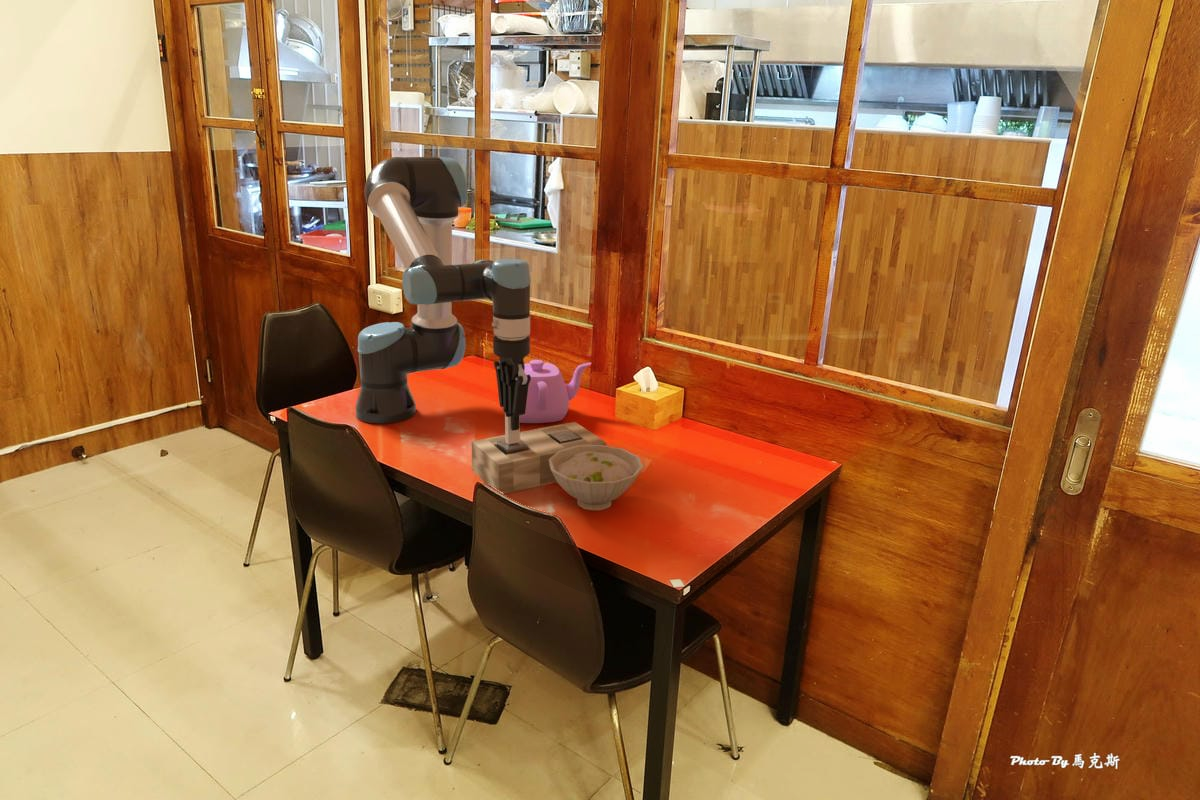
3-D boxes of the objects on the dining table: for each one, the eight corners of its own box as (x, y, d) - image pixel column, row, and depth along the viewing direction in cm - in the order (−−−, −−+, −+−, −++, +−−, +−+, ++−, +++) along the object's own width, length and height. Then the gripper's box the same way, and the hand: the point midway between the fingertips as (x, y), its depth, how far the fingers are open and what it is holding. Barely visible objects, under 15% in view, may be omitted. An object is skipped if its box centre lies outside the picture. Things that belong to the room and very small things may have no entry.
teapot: (511, 435, 197) (510, 377, 192) (501, 406, 216) (500, 352, 211) (600, 430, 202) (602, 373, 197) (583, 402, 221) (584, 349, 216)
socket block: (472, 470, 177) (471, 441, 174) (574, 449, 190) (574, 421, 187) (498, 495, 165) (498, 464, 163) (605, 471, 178) (606, 442, 176)
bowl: (567, 532, 152) (568, 484, 148) (534, 489, 168) (534, 446, 165) (657, 515, 159) (660, 470, 156) (617, 476, 176) (619, 434, 172)
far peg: (549, 460, 181) (549, 433, 179) (568, 456, 184) (569, 430, 182) (560, 468, 177) (560, 441, 175) (579, 464, 180) (580, 437, 178)
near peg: (497, 468, 175) (496, 441, 172) (517, 464, 177) (517, 437, 175) (506, 477, 171) (506, 449, 168) (527, 472, 173) (527, 444, 171)
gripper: (481, 330, 167) (484, 435, 175) (508, 345, 157) (509, 456, 164) (514, 326, 171) (515, 429, 179) (542, 341, 160) (542, 449, 168)
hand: (512, 442), depth 171 cm, fingers closed
